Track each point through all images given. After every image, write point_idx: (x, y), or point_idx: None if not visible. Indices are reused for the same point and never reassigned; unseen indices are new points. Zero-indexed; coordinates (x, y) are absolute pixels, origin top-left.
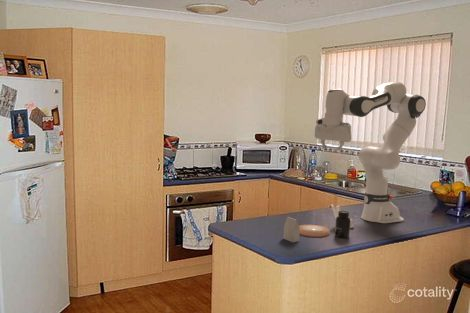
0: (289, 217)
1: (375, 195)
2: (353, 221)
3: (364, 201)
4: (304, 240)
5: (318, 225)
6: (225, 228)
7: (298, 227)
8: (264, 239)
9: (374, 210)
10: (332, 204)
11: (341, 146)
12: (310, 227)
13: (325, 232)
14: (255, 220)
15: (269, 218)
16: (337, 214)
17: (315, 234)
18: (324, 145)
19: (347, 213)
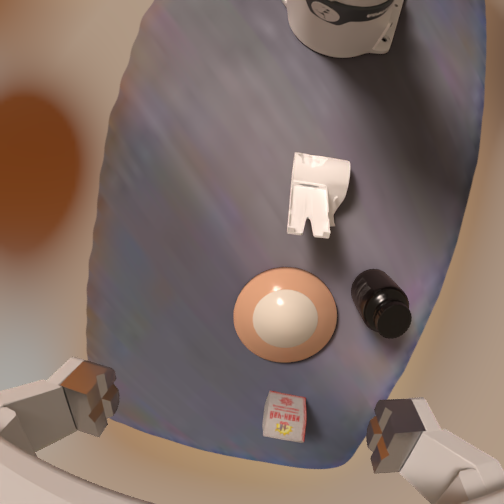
0: (271, 436)
1: (375, 7)
2: (349, 163)
3: (310, 9)
4: (311, 385)
5: (273, 271)
6: (130, 416)
7: (304, 423)
8: (240, 430)
9: (362, 35)
10: (291, 228)
11: (439, 457)
12: (271, 314)
13: (332, 321)
14: (106, 327)
15: (108, 283)
16: (308, 207)
17: (317, 351)
18: (101, 433)
19: (409, 324)
